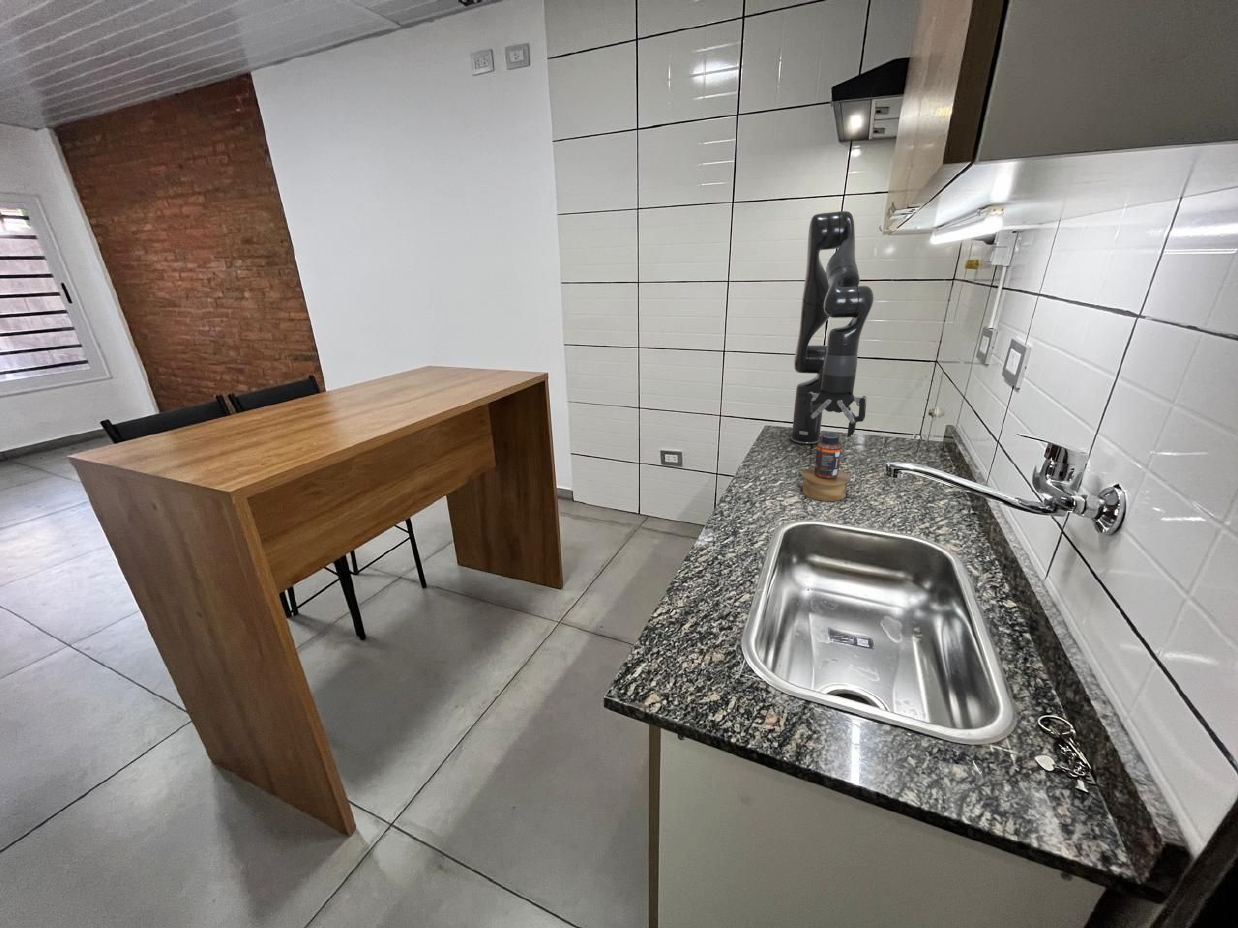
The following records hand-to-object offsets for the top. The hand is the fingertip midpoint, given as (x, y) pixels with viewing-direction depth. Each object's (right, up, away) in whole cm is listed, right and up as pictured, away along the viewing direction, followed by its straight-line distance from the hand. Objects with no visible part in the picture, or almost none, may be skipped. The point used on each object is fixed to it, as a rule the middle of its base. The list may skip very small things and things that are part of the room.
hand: (831, 433), depth 126 cm
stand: (+1, -16, +6) cm, 17 cm away
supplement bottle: (0, -11, +4) cm, 12 cm away
